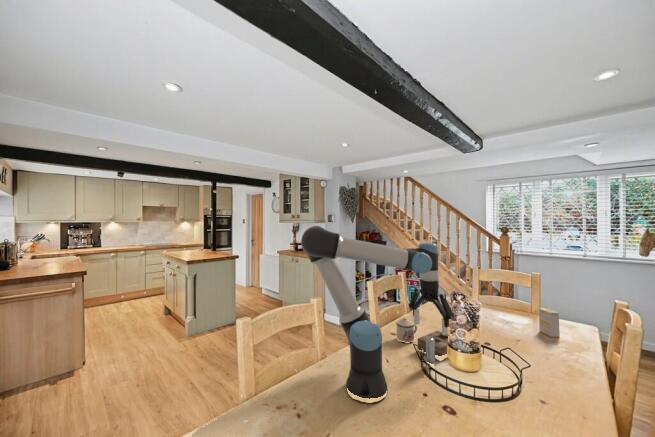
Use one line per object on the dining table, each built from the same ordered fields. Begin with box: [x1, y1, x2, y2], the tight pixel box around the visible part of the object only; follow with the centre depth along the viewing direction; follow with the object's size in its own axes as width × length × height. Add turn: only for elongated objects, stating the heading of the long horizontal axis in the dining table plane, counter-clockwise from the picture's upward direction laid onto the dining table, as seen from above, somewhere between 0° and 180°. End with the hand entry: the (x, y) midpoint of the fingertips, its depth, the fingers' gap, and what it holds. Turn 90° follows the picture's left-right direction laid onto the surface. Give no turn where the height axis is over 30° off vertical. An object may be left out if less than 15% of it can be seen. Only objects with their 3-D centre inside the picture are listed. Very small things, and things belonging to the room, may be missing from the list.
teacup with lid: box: [395, 316, 418, 342], centre depth 139 cm, size 12×9×12 cm
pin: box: [425, 337, 436, 364], centre depth 113 cm, size 3×3×12 cm
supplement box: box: [538, 307, 560, 338], centre depth 143 cm, size 8×5×13 cm, turn 179°
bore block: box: [417, 330, 450, 356], centre depth 126 cm, size 16×12×6 cm
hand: (430, 328), depth 113 cm, fingers open, 13 cm apart
